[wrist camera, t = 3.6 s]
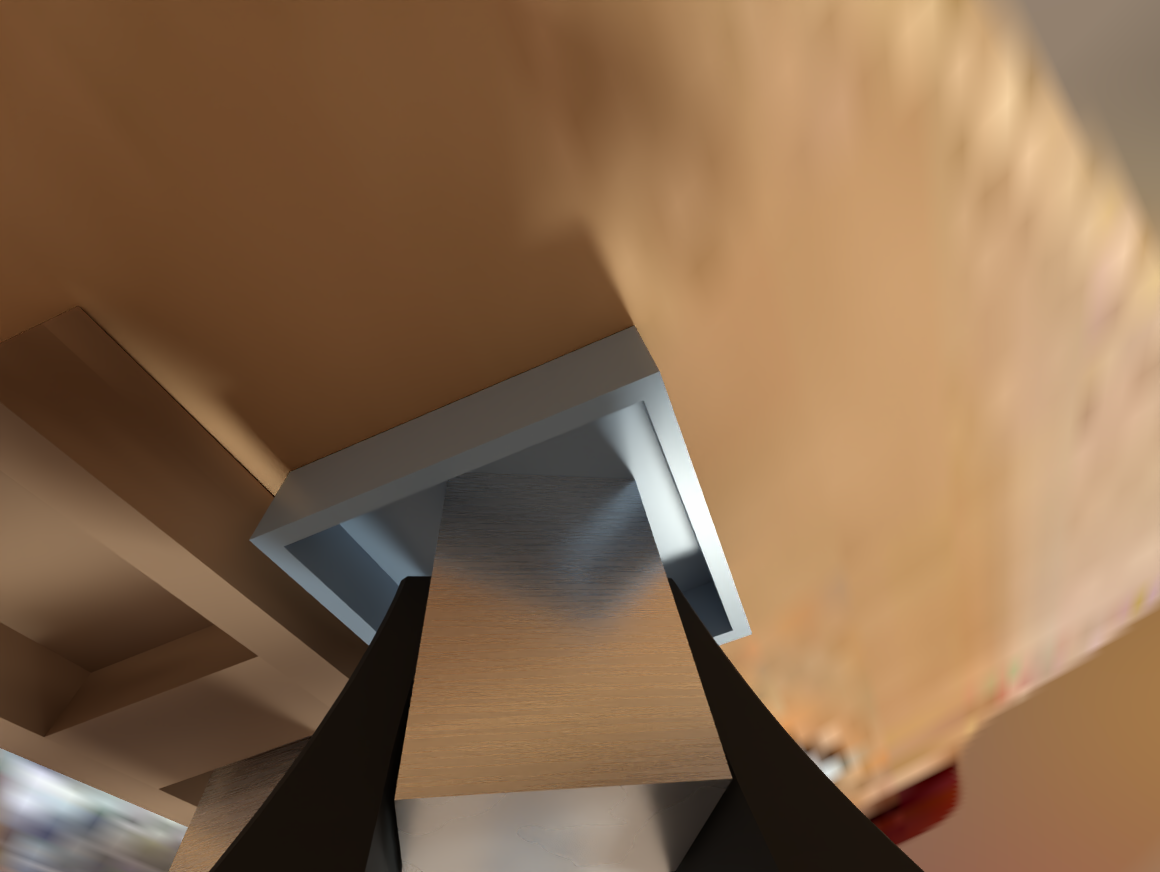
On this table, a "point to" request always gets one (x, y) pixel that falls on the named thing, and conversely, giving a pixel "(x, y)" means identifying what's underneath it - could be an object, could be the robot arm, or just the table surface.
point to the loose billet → (553, 690)
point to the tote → (502, 446)
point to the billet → (231, 805)
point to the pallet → (141, 584)
